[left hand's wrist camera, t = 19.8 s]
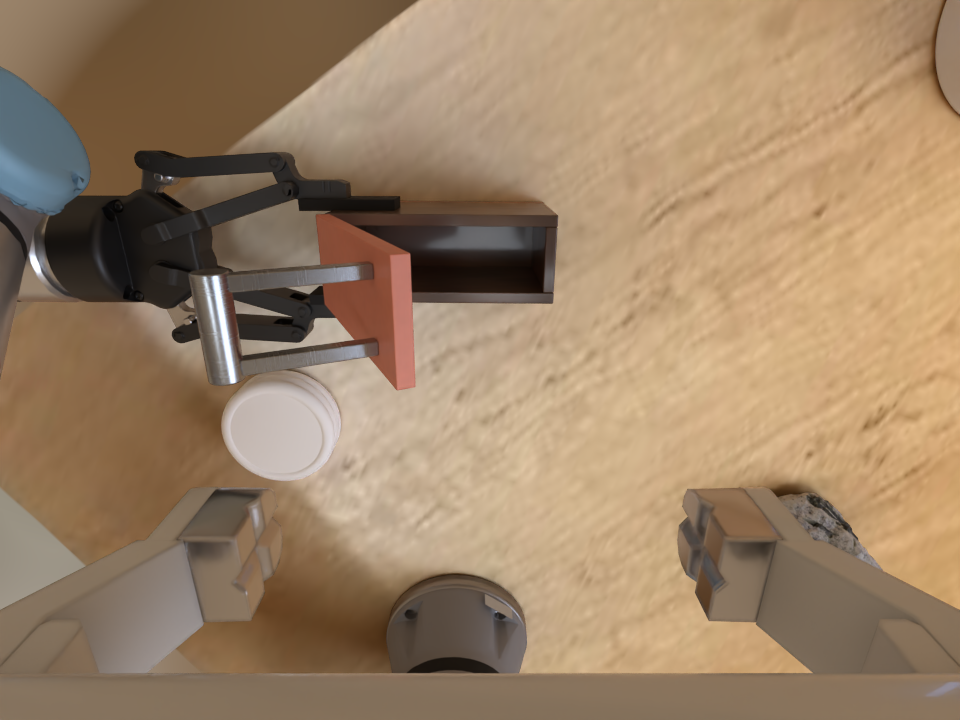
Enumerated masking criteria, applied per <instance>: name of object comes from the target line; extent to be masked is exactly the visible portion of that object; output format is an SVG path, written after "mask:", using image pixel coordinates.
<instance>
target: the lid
mask: <svg viewBox="0 0 960 720" xmlns="http://www.w3.org/2000/svg"><path fill="white" fill-rule="evenodd" d="M316 222H317V232H318V242H319V252H320V262H321V265H315V266H302V267H289V268H277V269H264V270H251V271H239V272H229V271H228V270H227V269H222V268H207V269H199V270H195V271H192V272H189V274H188V276H189V281H190V287H191V292H192V297H193V302H194V308H195V313H196V318H197V323H198V329H199V334H200V339H201V345H202V350H203V355H204V360H205V366H206V371H207V376H208V381H209V383H210V384H212V385H217V386H224V385H231V384H235V383H238V382H240V381H242V380H244V379H245V376H247V375H254V374H260V373H267V372H273V371H280V370H286V369H293V368H299V367H306V366H312V365H319V364H325V363H332V362H338V361H345V360H351V359H358V358H364V357H369V358H370V359H371V360H372V361H373V362H374V364H375V365H376V366H377V367H378V368H379V370H380V371H381V372H382V373H383V374H384V376H385V377H386V378H387V379H388V380H389V381H390V383H391V384H392V385H393V386H394V387H395V389H396V390H402V389H407V388H413V387H415V363H414V337H413V312H412V286H411V261H410V253H408V252H406V251H404V250H402V249H400V248H398V247H396V246H394V245H392V244H390V243H388V242H386V241H384V240H382V239H379V238H377V237H375V236H373V235H371V234H369V233H367V232H365V231H363V230H361V229H359V228H357V227H355V226H353V225H351V224H349V223H346V222H344V221H342V220H340V219H338V218H336V217H334V216H332V215H330V214H318V215H316ZM318 284H323V292H324V302H325V305H326V306H327V308H328V309H329V310H330V311H331V312H332V313H333V315H334V316H335V317H336V318H337V319H338V321H339V322H340V323H341V324H342V325H343V327H344V328H345V329H346V330H347V331H348V333H349V334H350V335H351V336H352V337H353V339H354V340H352V341H345V342H338V343H331V344H323V345H316V346H309V347H302V348H295V349H288V350H280V351H273V352H266V353H259V354H252V355H244V356H242V350H241V344H240V337H239V331H238V325H237V319H236V313H235V307H234V300H233V294H232V292H243V291H254V290H264V289H275V288H286V287H297V286H307V285H318Z"/></svg>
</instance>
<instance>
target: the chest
mask: <svg viewBox="0 0 960 720" xmlns="http://www.w3.org/2000/svg"><path fill="white" fill-rule="evenodd" d="M325 214H330V215H332V216H334V217H336V218H338V219H340V220H342V221H344V222H346V223H349V224H351V225H353V226H355V227H357V228H359V229H361V230H363V231H365V232H367V233H369V234H371V235H373V236H375V237H377V238H379V239H382V240H384V241H386V242H388V243H390V244H392V245H394V246H396V247H398V248H400V249H402V250H404V251H406V252H408V253H410V261H411V286H412V302H423V303H543V304H552V303H553V295H554V294H553V292H554V277H555V260H556V243H557V226H558V215H557V214H556V213H554V212H553V211H552V210H551V209H550V208H549V207H547V206H546V205H545V204H544V203H543V202H467V201H400V208H398V209H397V210H395V211H349V210H333V211H330V212H328V213H325Z"/></svg>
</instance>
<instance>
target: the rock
mask: <svg viewBox="0 0 960 720" xmlns="http://www.w3.org/2000/svg"><path fill="white" fill-rule="evenodd" d="M777 498H778V499H779V500H780V501H781V502H782V503H783V504H784V506H785V507H786V508H787V509H788V510H789V511H790V513H791V514H792V515H793V516H794V517H795V518H796V519H797V521H798V522H799V523H800V524H801V525H802V526H803V528H804V529H805V530H806V531H807V532H808V533H809V535H810V536H811V537H812V538H813V539H814V540H823V541H825V542H827V543H829V544H831V545H833V546H835V547H837V548H839V549H841V550H843V551H845V552H847V553H849V554H851V555H853V556H854V557H856V558H858V559H860V560H862V561H864V562H866V563H868V564H870V565H872V566H874V567H876V568H878V569H880V570H882V569H881V567H880V566H879V565H878V564H877V562H876V561H875V560H874V559H873V557H871V556H870V555H869V554H868V552H867V550H866V549H865V548H864V547H863V546H862V545H861V544H860V542H859V541H858V538H857V537H856V536H855V534H854V533H853V532H852V528H851V527H850V525H849V524H848V523H847V522H845V521H844V519H843V517H842V515H841V513H840V512H839V511H838V510H837V509H836V508H835V507H834V506H833V505H831V504H830V503H829V502H828V501H826V500H823V499H822V498H821V497H820V496H819V495H817V494H816V493H811V492H805V493H802V494H796V495H794V494H789V495H784V496H780V497H777ZM882 571H883V570H882Z"/></svg>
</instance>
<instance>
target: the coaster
mask: <svg viewBox="0 0 960 720" xmlns="http://www.w3.org/2000/svg"><path fill="white" fill-rule="evenodd" d="M221 429H222V435H223V439H224V442H225V444H226V446H227V448H228V450H229V452H230V453H231V455H232V456H233V457H234V458H235V459H236V461H237V462H238V463H240V464H241V465H242V466H243V467H244V468H246V469H247V470H249V471H250V472H252V473H254V474H256V475H259V476H261V477H264V478H267V479H272V480H279V481H291V480H298V479H302V478H304V477H307V476H309V475H311V474H313V473H314V472H316V471H317V470H319V469H320V468H321V467H322V466H323V465H324V464H325V463H326V461H327V460H328V459H329V457H330V455H331V453H332V451H333V449H334V447H335V445H336V443H337V441H338V438H339V435H340V429H341V419H340V413H339V409H338V407H337V404H336V402H335V400H334V399H333V397H332V395H331V394H330V393H329V392H328V391H327V389H326V388H325V387H323V386H322V385H321V384H320V383H319V382H317V381H316V380H314V379H312V378H311V377H309V376H306V375H304V374H301V373H298V372H294V371H288V370H280V371H273V372H267V373H261V374H259V375H256V376H254V377H253V378H251V379H249V380H248V381H247V382H246V383H245V384H244V385H243V386H242V387H241V388H240V389H239V390H238V391H237V392H236V393H234V395H233V396H232V397H231V398H230V399H229V401H228V403H227V404H226V406H225V409H224V411H223V415H222V421H221Z"/></svg>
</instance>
